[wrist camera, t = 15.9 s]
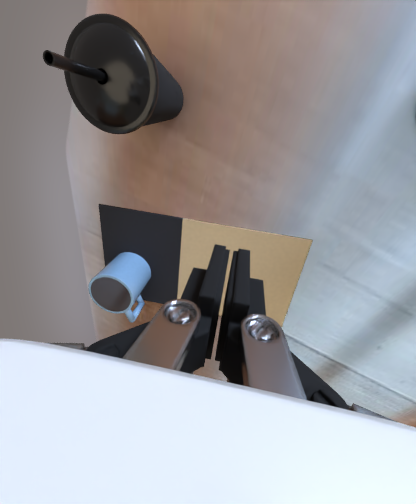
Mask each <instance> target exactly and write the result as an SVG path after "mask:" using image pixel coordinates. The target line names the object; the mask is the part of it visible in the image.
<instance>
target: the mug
mask: <svg viewBox="0 0 416 504" xmlns="http://www.w3.org/2000/svg"><path fill="white" fill-rule="evenodd" d="M150 278H151V269H150V267H149V265H148V263H147V262H146V261H145V260H144V259H143V258H142V257H141V256H139V255H137V254H135V253H131V252H124V253H120V254H118V255H117V256H116V257H115V258H114V259H113V260H112V261H110V262H109V263H108V264H107V265H106V266H105V267H104V268H103V269H102V270H101V271H100V272H99V273H98V274H97V275H96V276H95V277H94V278H93V279H92V280H91V281H90V283H89V288H88V289H89V294H90V296H91V298H92V300H93V301H94V302H95V303H96V304H97V305H98V306H99V307H100V308H102V309H104V310H106V311H108V312H111V313H125V315H126V316H127V318H128V320H129V322H134V321H135V320H136V318H137V316H138V315H139V313H140V311H141V310H142V308H143V306H144V305H145V303H144V301H143V299H142V297H141V295H140V294H141V292H142V291H143V289H144V288H145V286H146V285H147V283H148V282H149V280H150ZM135 301H137V303H138V305H137V306H136V308H135V309H134V311H133V312H132V311H131V309H130V308H131V307H132V306H133V304H134V303H135Z"/></svg>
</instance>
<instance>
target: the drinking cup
mask: <svg viewBox="0 0 416 504" xmlns="http://www.w3.org/2000/svg"><path fill="white" fill-rule="evenodd" d="M43 59H44V61H45V63H46V64H47V65H49V66H52V67H56V68H59V69H62V70H64V73H65V79H66V84H67V87H68V90H69V92H70V95H71V98H72V100H73V102H74V103H75V105H76V107H77V108H78V110H79V111H80V112H81V114H82V115H83V116H84V117H85V118H86V119H87V120H88V121H89V122H90V123H91V124H93V125H94V126H96V127H97V128H99V129H101V130H103V131H105V132H108V133H112V134H126V133H130V132H133V131H135V130H137V129H139V128H140V127H142V126H145V125H150V124H154V123H158V122H162V121H166V120H170V119H173V118H174V117H176V116H177V115H178V114H179V112H180V111H181V108H182V105H183V93H182V90H181V87H180V85H179V84H178V83H177V81H176V80H175V79H174V78H173V77H172V76H171V74H170V73H169V72H168V71H167V70H166V69H165V68H164V66H163V65H162V64H161V63H160V62H159V61H158V59H157V58H156V57H155V56H154V55H153V54H152V52H151V50H150V48H149V46H148V44H147V42H146V41H145V39H144V38H143V37H142V35H141V34H140V33H139V32H138V31H137V30H136V29H135V28H134V27H133V26H132V25H131V24H129V23H128V22H126V21H125V20H123V19H121V18H119V17H117V16H114V15H110V14H95V15H92V16H89V17H87V18H85V19H84V20H82V21H81V22H80V23H79V24H78V25H77V26H76V27H75V28H74V30H73V31H72V33H71V34H70V36H69V39H68V42H67V44H66V48H65V54H64V56H62V55H59V54H56V53H54V52H51V51H48V50H46V51H44V53H43Z"/></svg>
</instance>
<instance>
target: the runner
mask: <svg viewBox="0 0 416 504" xmlns="http://www.w3.org/2000/svg"><path fill="white" fill-rule="evenodd" d="M99 212H100V221H101V231H102V241H103V250H104V260H105V266H106V265H107V264H108V263H109V262H110V261H112V260H113V259H114V258H115V257H116V256H117V255H118V254H120V253H124V252H131V253H135V254H137V255H139V256H141V257H142V258H143V259H144V260H145V261H146V262H147V263H148V265H149V267H150V269H151V278H150V280H149V282H148V283H147V285H146V286H145V288H144V289H143V291H142V292H141V294H140V295H141V297H142V299H143V300H146V301H151V302H156V303H161V304H165V303H166V302H168V301H170V300H174V299H180V298H181V296H182V293H183V291H184V289H185V286H186V284H187V281H188V279H189V277H190V274H191V272H192V269H193V268H194V267H195V268H201V269H206V270H207V268H208V265H209V261H210V258H211V255H212V252H213V249H214V245H215V244H217V245H222V246H226V249H228V250H230V253H229V259H228V265H227V270H226V276H225V282H224V288H223V294H222V299H221V305H220V310H219V315H221V316H222V312H223V305H224V299H225V294H226V289H227V283H228V278H229V273H230V267H231V262H232V257H233V251H238V249H245V250H250V278H255V279H260V280H263V284H264V297H265V309H266V316H268V317H270V318H272V319H273V320H275V321H276V322H277V323H278V324H279V325H280V326H281V327H282V325H283V322H284V319H285V316H286V313H287V311H288V308H289V305H290V302H291V299H292V297H293V294H294V291H295V288H296V285H297V283H298V280H299V277H300V274H301V272H302V269H303V266H304V263H305V260H306V258H307V255H308V252H309V249H310V246H311V244H312V241H313V240H309V239H304V238H298V237H292V236H286V235H280V234H274V233H268V232H262V231H256V230H250V229H244V228H238V227H232V226H226V225H220V224H214V223H208V222H202V221H196V220H190V219H184V218H178V217H172V216H166V215H160V214H155V213H149V212H143V211H137V210H131V209H125V208H119V207H113V206H107V205H101V204H99Z"/></svg>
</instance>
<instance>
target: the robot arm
mask: <svg viewBox="0 0 416 504" xmlns="http://www.w3.org/2000/svg"><path fill="white" fill-rule="evenodd" d="M229 253H230V250H228V249H226V246H222V245H217V244H215V245H214V249H213V252H212V255H211V258H210V261H209V265H208V268H207V270H206V269H201V268H195V267H194V268H193V269H192V272H191V274H190V277H189V279H188V281H187V284H186V286H185V289H184V291H183V293H182V296H181V298H180V299H174V300H170V301H168V302H166V303H165V304H164V305H163V306H162V307H161V308H160V309H159V311H158V312H157V313H156V315H155V316H154V317H153V318H152V320H151V321H150V322H147V323H144V324H142V325H139V326H136V327H134V328H131V329H129V330H126V331H123V332H121V333H118V334H115V335H113V336H110V337H108V338H105V339H102V340H100V341H98V342H96V343H94V344H92V345H91V346H89V347H84V343H41V342H35V341H28V340H18V339H0V504H416V427H412V426H408V425H405V424H402V423H398V422H396V421H394V420H391V419H389V418H386V417H384V416H382V415H379V414H377V413H375V412H372V411H370V410H368V409H365V408H363V407H361V406H358V405H356V404H354V403H353V405H352V406H349V405H347V404H346V402H345V401H344V400H343V399H342V398H341V396H340V395H339V394H338V393H337V392H336V391H334V390H333V389H332V388H331V387H330V386H329V385H328V384H327V383H325V382H324V381H323V380H322V379H321V378H320V377H319V376H318V375H316V374H315V373H314V372H313V371H312V370H311V369H310V368H309V367H307V366H306V365H305V364H304V363H303V362H302V361H301V360H300V359H298V358H297V357H296V356H295V355H294V354H293V353H292V352H291V351H290V349H289V346H288V343H287V340H286V338H285V335H284V332H283V330H282V328H281V326H280V325H279V324H278V323H277V322H276V321H275V320H273V319H272V318H270V317H268V316H266V309H265V297H264V284H263V280H260V279H255V278H250V250H245V249H238V251H233V257H232V262H231V267H230V273H229V278H228V283H227V289H226V294H225V299H224V305H223V312H222V318H221V325H220V331H219V337H218V344H217V350H216V357H215V360H216V361H220V366H219V370H220V371H222V372H223V374H224V375H225V376H226V377H227V382H225V381H220V380H216V379H211V378H207V377H203V376H198V375H194V374H193V371H195V370H197V369H199V368H200V367H204V363H205V358H207V359H211V355H212V349H213V344H214V338H215V333H216V327H217V321H218V316H219V310H220V305H221V299H222V294H223V288H224V282H225V276H226V270H227V265H228V259H229Z"/></svg>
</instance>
